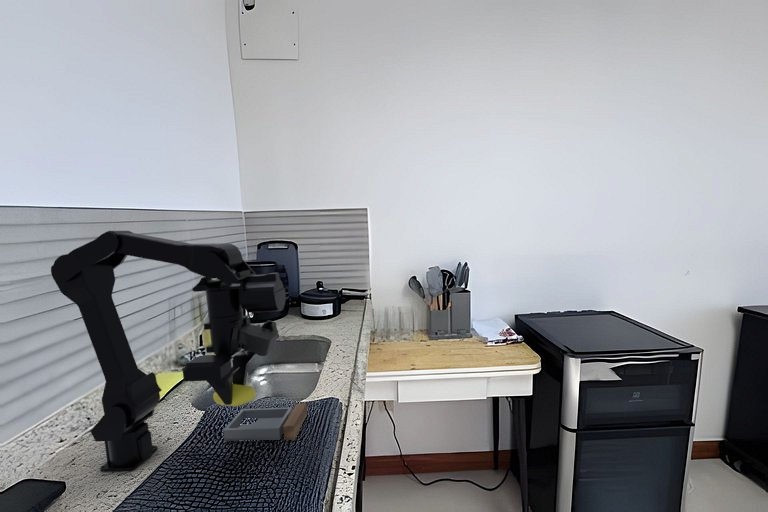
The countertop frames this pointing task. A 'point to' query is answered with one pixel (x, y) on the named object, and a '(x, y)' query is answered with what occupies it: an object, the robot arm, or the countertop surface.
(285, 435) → the rail
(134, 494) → the countertop surface
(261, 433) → the tray
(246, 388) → the lemon
